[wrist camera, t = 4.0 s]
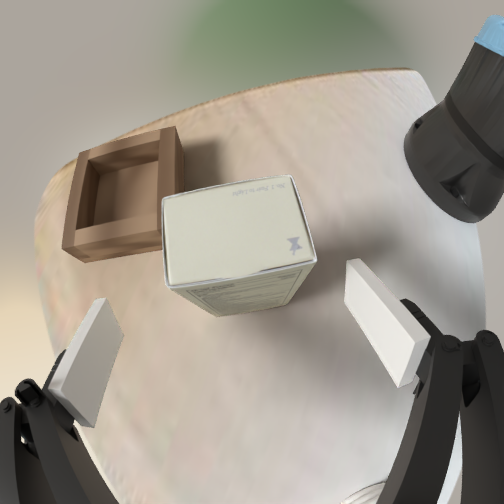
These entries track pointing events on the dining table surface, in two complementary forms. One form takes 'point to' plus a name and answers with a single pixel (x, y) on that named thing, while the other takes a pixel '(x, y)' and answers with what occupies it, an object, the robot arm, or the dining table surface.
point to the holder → (122, 195)
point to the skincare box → (237, 245)
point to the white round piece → (365, 495)
